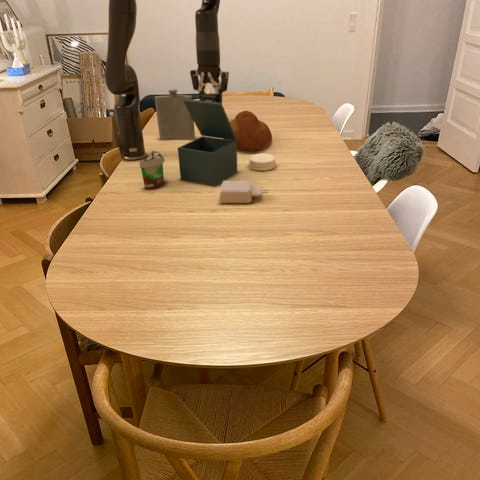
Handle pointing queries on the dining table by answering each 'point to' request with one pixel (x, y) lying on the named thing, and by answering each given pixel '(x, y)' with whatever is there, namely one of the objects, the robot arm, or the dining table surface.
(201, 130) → the lid
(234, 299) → the dining table surface
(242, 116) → the bread
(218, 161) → the cool chest
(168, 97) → the hip flask
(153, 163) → the food container
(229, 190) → the charger
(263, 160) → the white round disc
